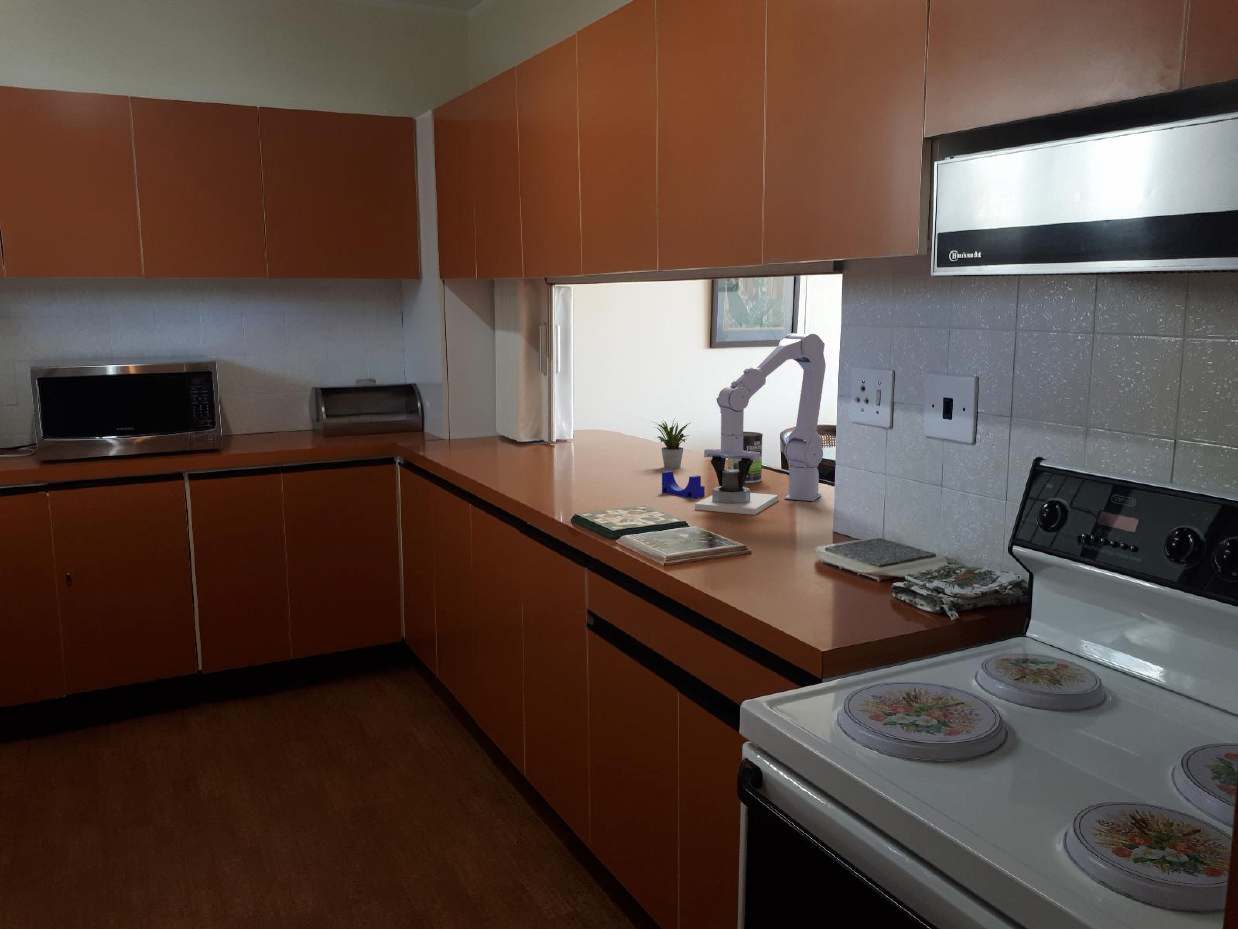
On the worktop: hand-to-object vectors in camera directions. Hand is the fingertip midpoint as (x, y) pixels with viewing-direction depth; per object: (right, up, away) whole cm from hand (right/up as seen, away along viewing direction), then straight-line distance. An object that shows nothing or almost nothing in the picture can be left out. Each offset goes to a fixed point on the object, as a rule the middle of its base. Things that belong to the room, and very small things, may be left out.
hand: (731, 486), depth 257 cm
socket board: (+2, -5, +2) cm, 6 cm away
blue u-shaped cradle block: (-11, -3, +17) cm, 21 cm away
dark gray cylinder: (0, -2, 0) cm, 2 cm away
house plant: (-13, +4, +63) cm, 64 cm away
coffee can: (+8, +1, +39) cm, 39 cm away
